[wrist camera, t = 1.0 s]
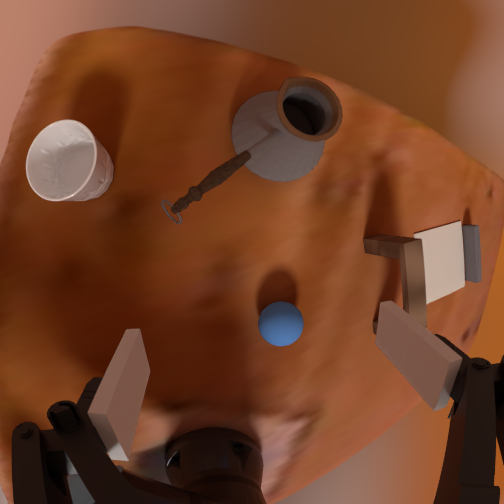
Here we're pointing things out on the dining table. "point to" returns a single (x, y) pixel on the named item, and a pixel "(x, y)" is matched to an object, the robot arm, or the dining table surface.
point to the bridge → (404, 271)
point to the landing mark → (443, 260)
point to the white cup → (68, 163)
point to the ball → (280, 323)
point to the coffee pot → (276, 135)
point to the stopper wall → (472, 253)
